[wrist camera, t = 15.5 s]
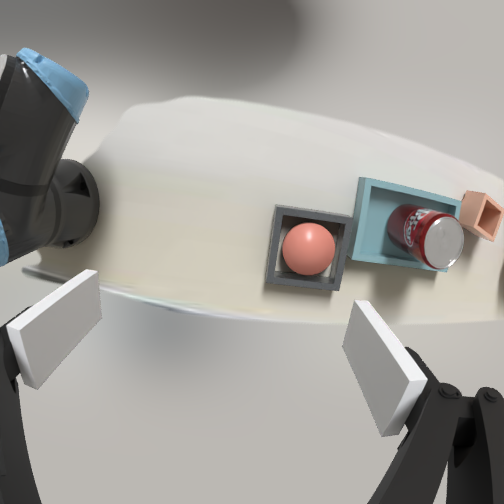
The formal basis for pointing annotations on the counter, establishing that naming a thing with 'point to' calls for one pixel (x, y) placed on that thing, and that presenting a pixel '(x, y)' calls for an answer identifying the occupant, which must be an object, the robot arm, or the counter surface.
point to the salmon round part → (308, 248)
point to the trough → (376, 218)
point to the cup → (480, 215)
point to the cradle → (339, 256)
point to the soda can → (426, 235)
